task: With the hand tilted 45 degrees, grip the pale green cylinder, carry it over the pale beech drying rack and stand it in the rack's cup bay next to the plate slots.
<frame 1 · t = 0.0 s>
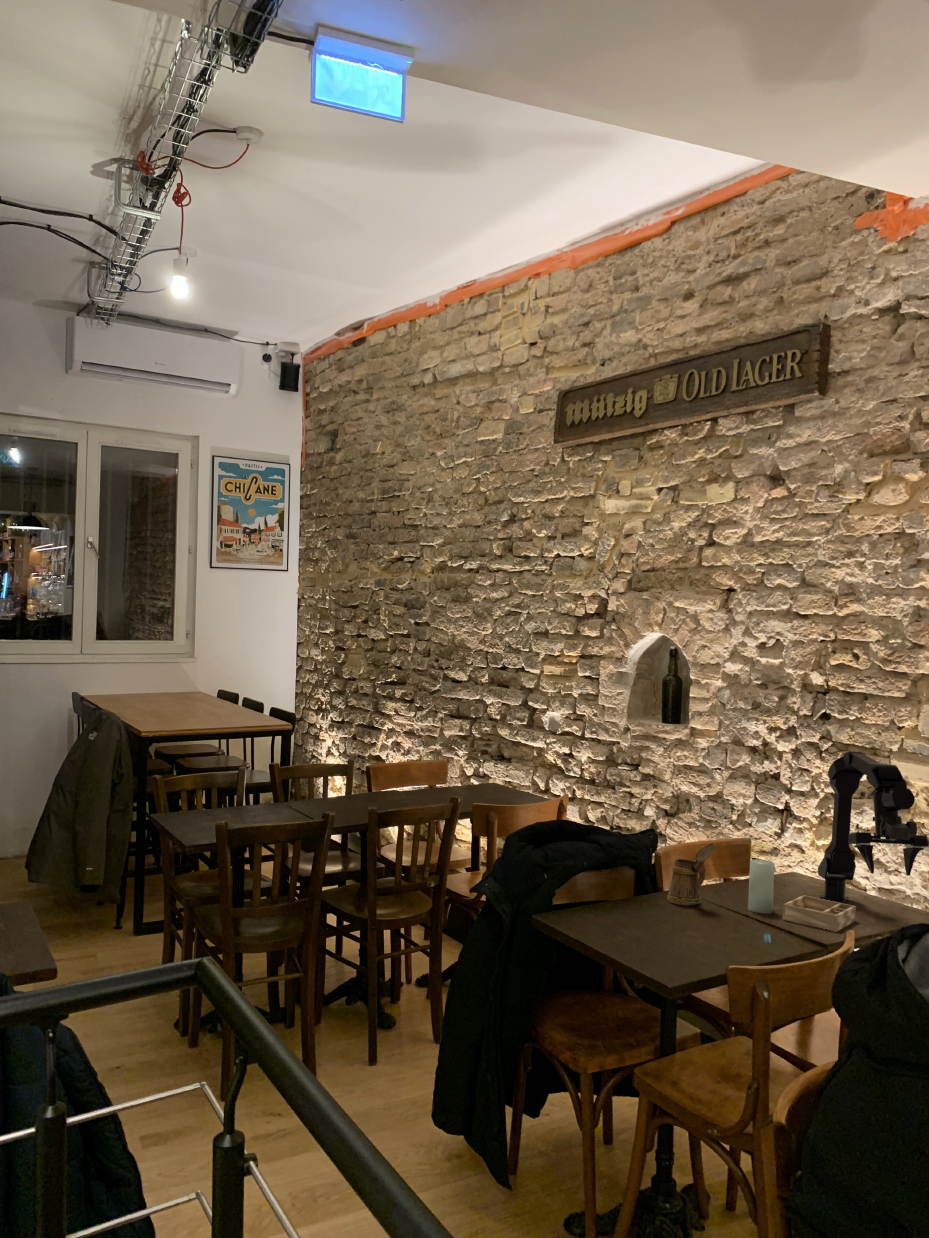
hand: (890, 874, 245), 15 cm above the table, tool pointing down, fingers open, 9 cm apart
rack: (818, 920, 255), on the table
pale green cylinder: (760, 909, 262), on the table
wooden mug: (689, 904, 265), on the table
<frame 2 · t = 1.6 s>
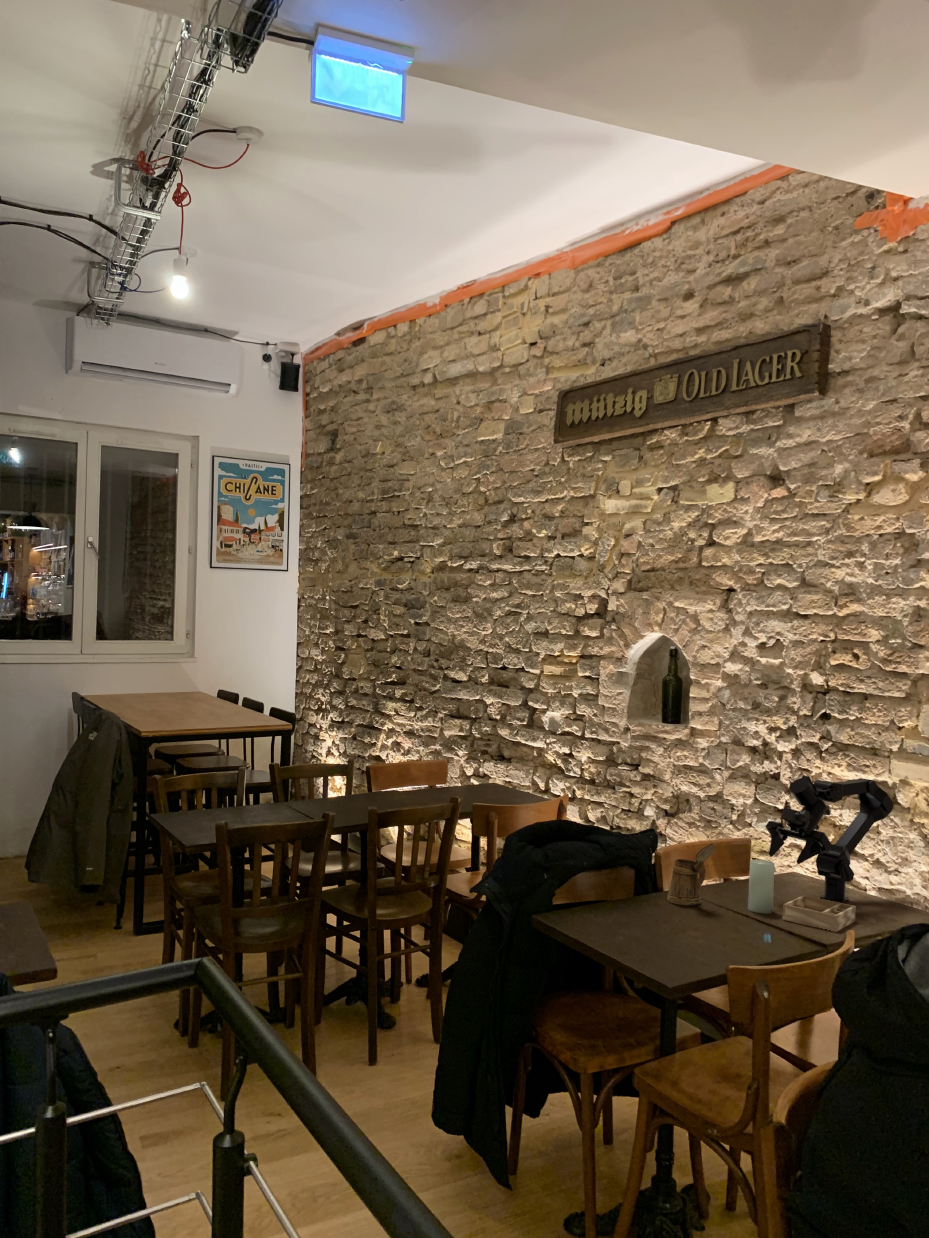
hand: (783, 859, 266), 13 cm above the table, tool tilted 45°, fingers open, 9 cm apart
nothing on the table moved.
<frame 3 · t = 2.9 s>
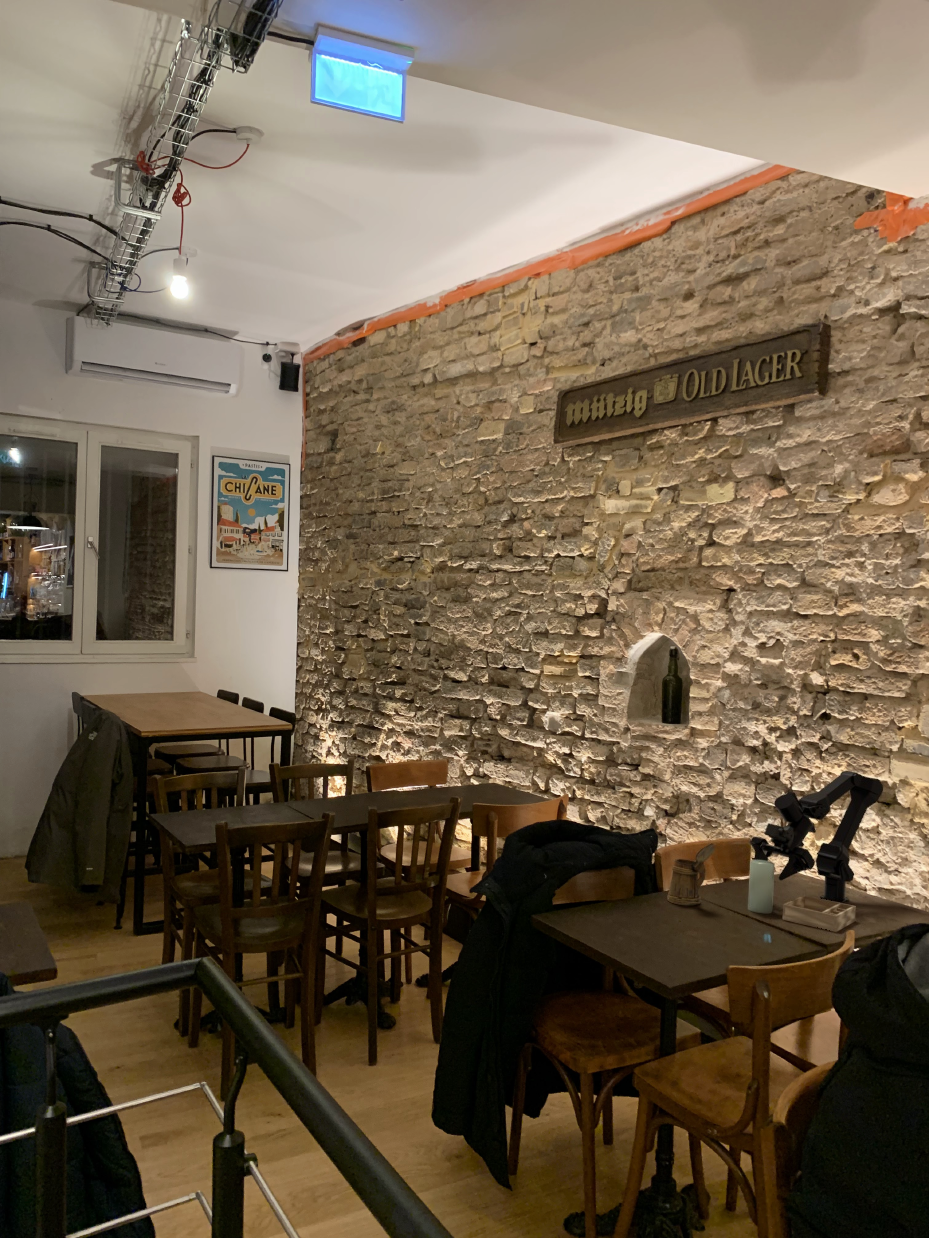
hand: (766, 875, 263), 9 cm above the table, tool tilted 45°, fingers open, 9 cm apart
nothing on the table moved.
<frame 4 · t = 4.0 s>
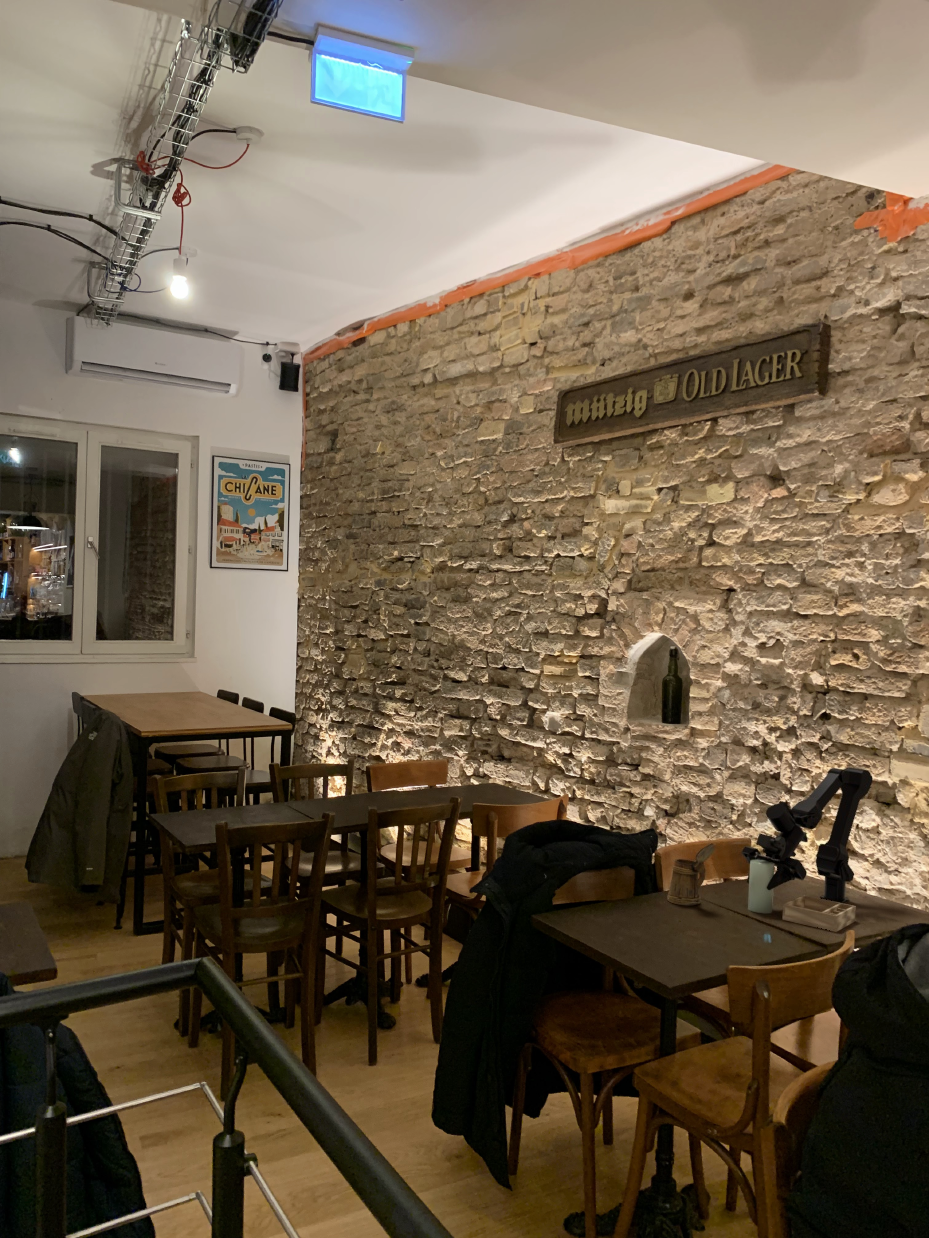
hand: (757, 886, 262), 7 cm above the table, tool tilted 45°, fingers closed on pale green cylinder, 6 cm apart
pale green cylinder: (760, 909, 262), on the table, touching gripper
everything else where it was.
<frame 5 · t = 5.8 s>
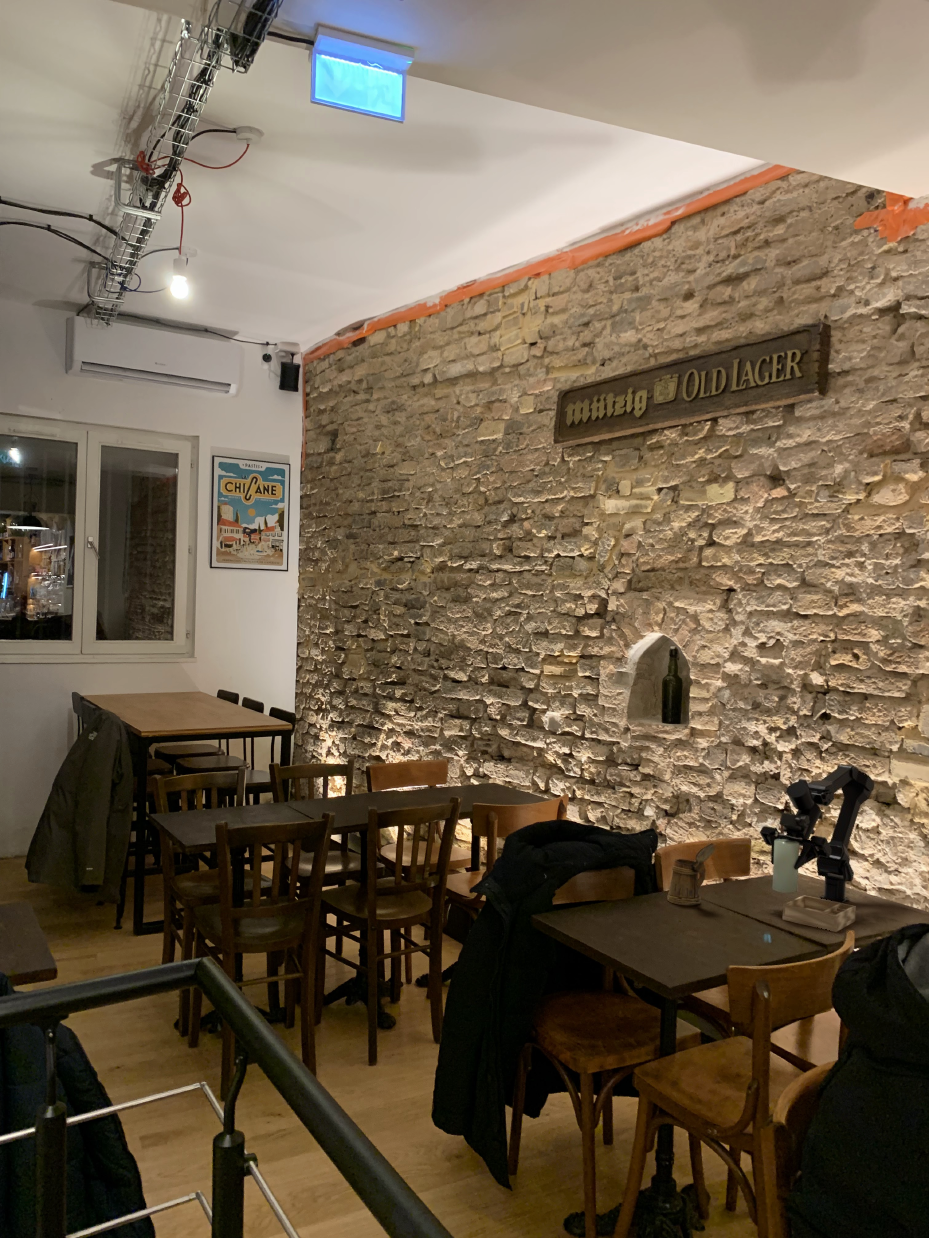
hand: (783, 865, 258), 13 cm above the table, tool tilted 45°, fingers closed on pale green cylinder, 6 cm apart
pale green cylinder: (784, 889, 259), point 7 cm above the table, touching gripper
everything else where it was.
when the fingers open (9 cm above the table, at t = 7.6 s): pale green cylinder drops 1 cm, resting on rack.
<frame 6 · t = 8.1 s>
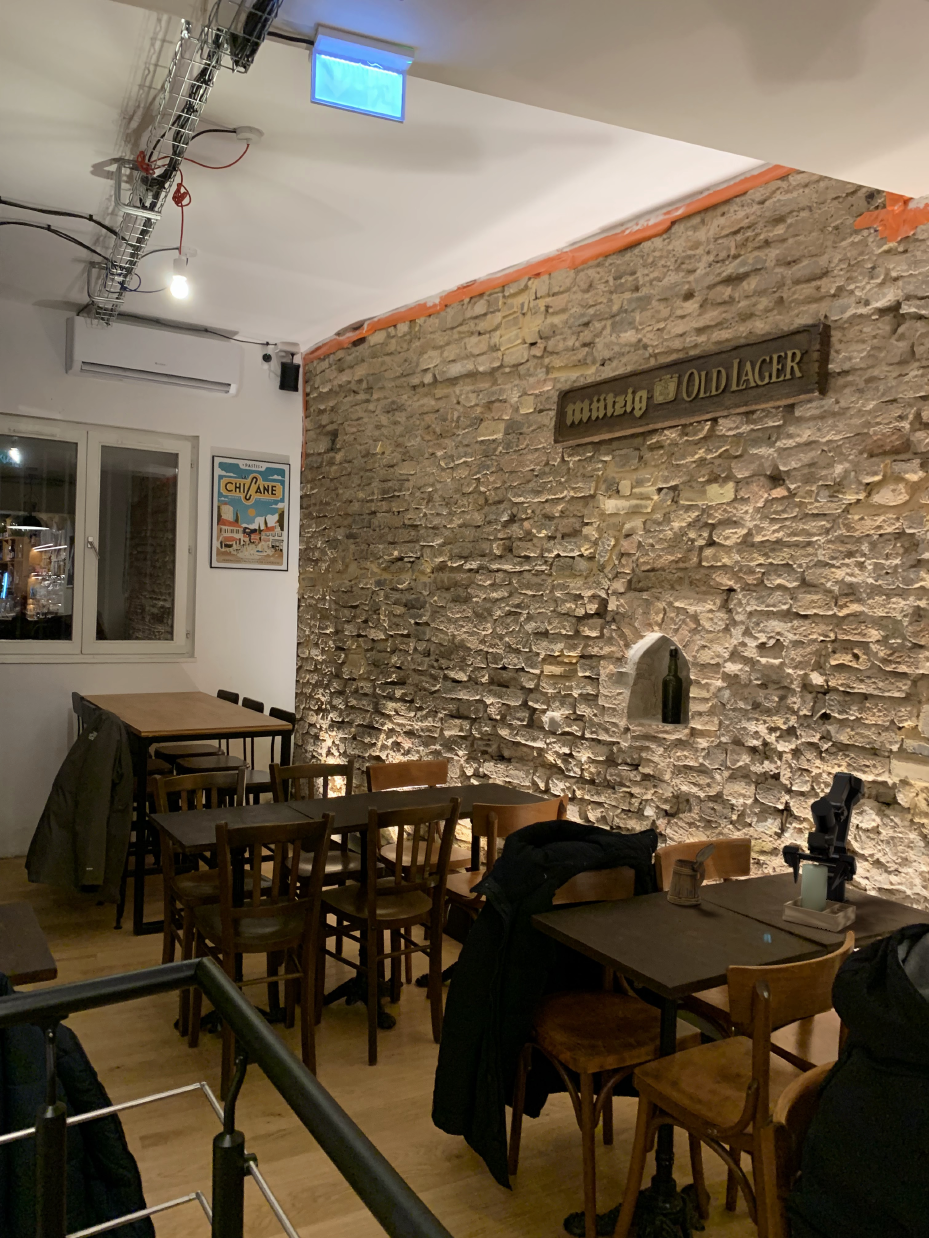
hand: (812, 885, 255), 9 cm above the table, tool tilted 45°, fingers open, 9 cm apart
pale green cylinder: (812, 914, 256), point 1 cm above the table, touching rack
everything else where it was.
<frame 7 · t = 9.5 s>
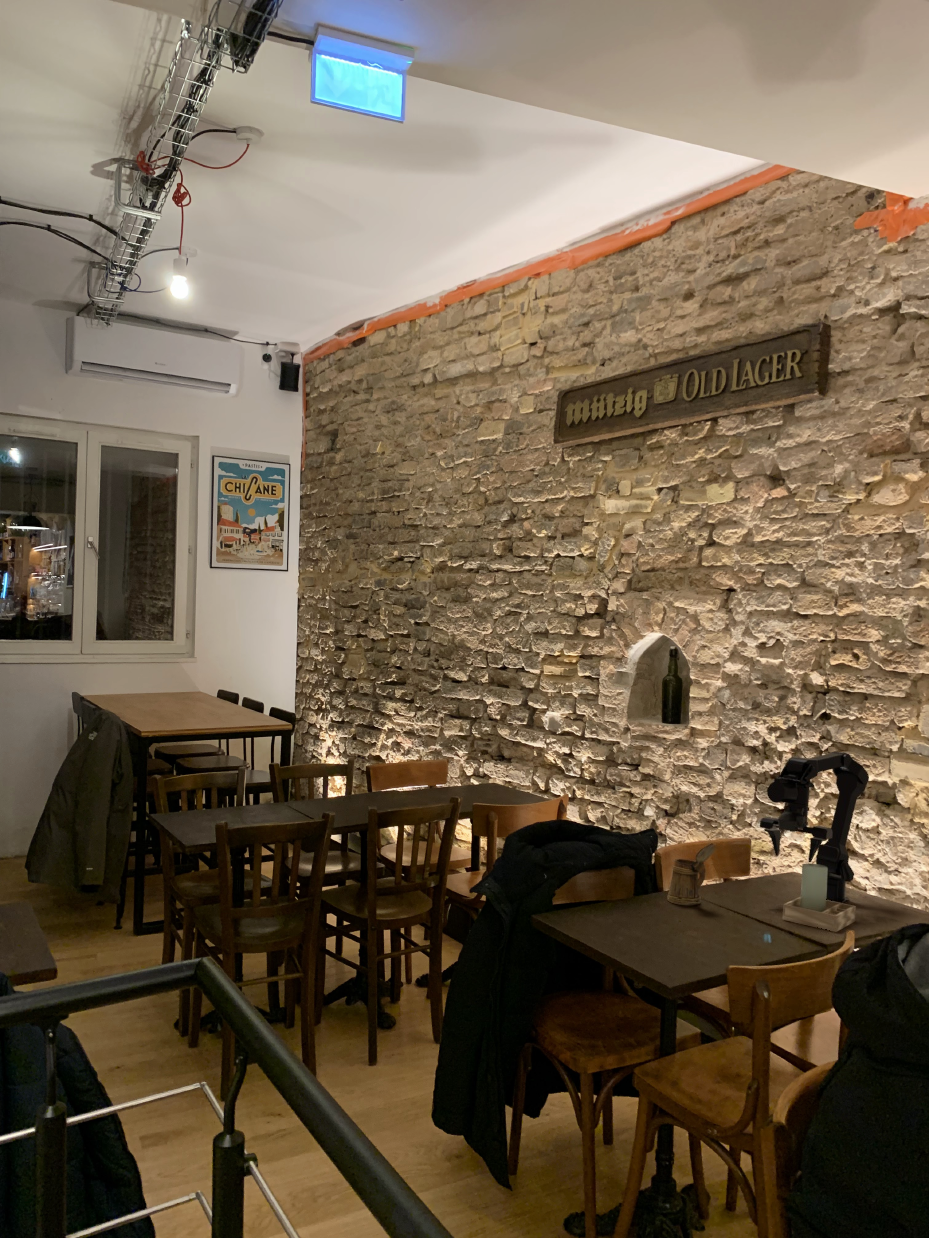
hand: (793, 858, 268), 13 cm above the table, tool pointing down, fingers open, 9 cm apart
nothing on the table moved.
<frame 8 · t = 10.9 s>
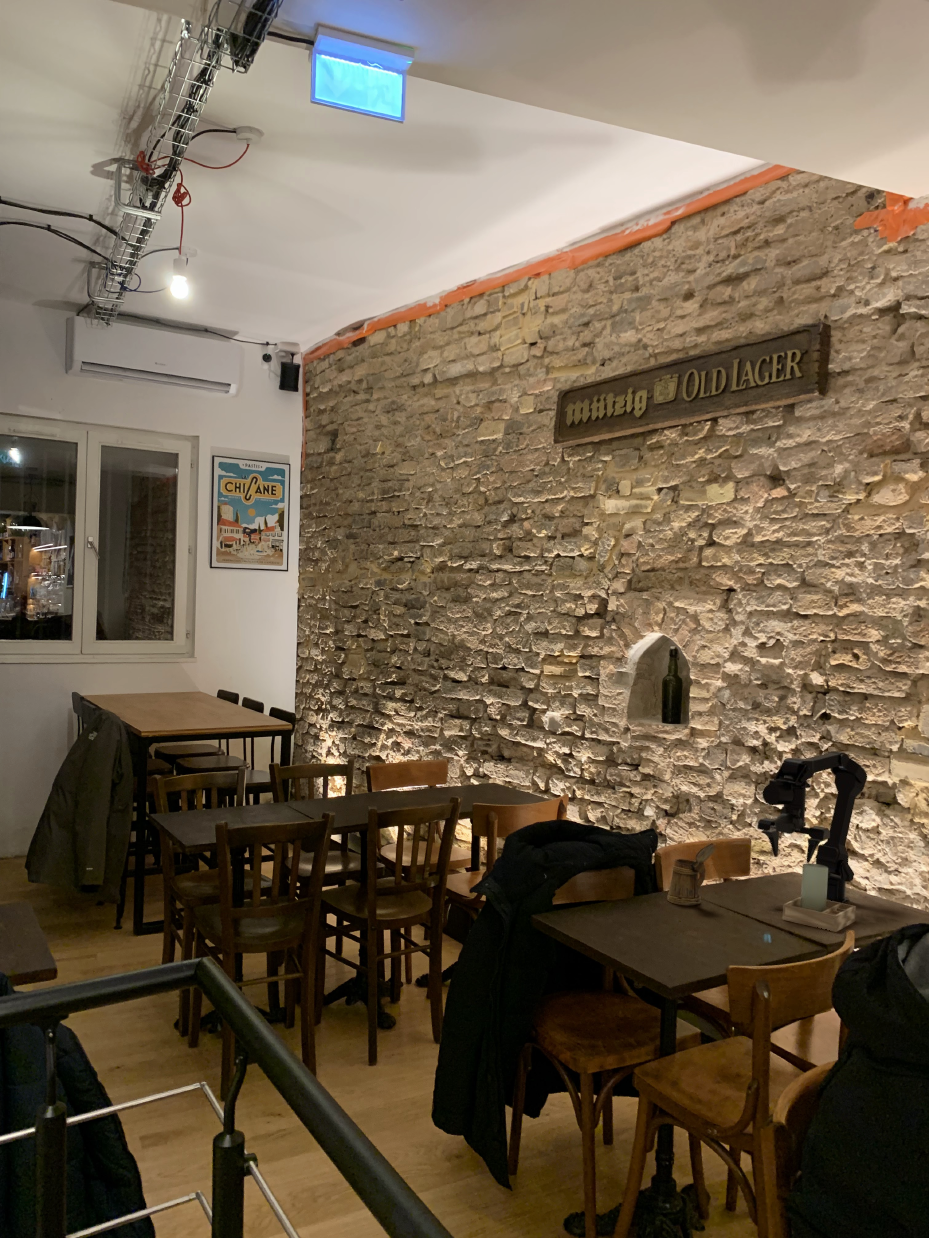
hand: (791, 859, 269), 13 cm above the table, tool pointing down, fingers open, 9 cm apart
nothing on the table moved.
at the end: pale green cylinder inside the target area on the rack (0.1 cm from its centre), point 1.0 cm above the rack's base; pale green cylinder tilted 1°; the gripper is holding nothing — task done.
